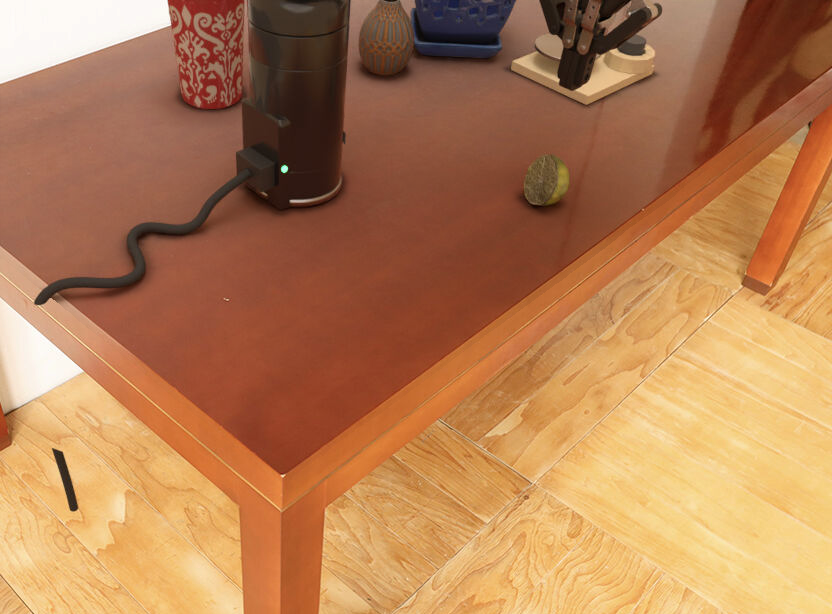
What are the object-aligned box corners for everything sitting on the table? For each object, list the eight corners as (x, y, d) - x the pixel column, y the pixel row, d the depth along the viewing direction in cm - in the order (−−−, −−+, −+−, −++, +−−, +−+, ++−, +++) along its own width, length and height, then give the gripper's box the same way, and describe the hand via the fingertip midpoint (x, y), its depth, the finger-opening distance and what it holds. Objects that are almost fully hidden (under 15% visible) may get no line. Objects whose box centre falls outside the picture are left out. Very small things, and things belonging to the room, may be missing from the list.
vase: (411, 59, 111) (419, -11, 105) (410, 83, 106) (418, 11, 100) (358, 55, 111) (363, -15, 105) (355, 79, 106) (359, 7, 100)
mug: (228, 120, 98) (223, 0, 88) (160, 103, 100) (147, -16, 91) (275, 76, 106) (274, -39, 97) (210, 61, 108) (203, -52, 99)
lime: (553, 218, 86) (564, 174, 82) (510, 201, 88) (519, 158, 84) (571, 199, 88) (584, 156, 85) (530, 183, 90) (540, 140, 87)
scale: (589, 106, 103) (595, 83, 101) (510, 69, 110) (514, 46, 107) (657, 74, 110) (664, 51, 108) (579, 41, 116) (584, 19, 114)
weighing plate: (574, 69, 103) (575, 66, 103) (520, 46, 108) (521, 43, 107) (615, 52, 107) (616, 48, 107) (562, 29, 112) (562, 26, 111)
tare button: (633, 59, 107) (637, 46, 105) (613, 51, 108) (617, 37, 107) (647, 53, 108) (651, 39, 107) (627, 45, 110) (631, 31, 108)
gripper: (531, -126, 72) (493, 72, 84) (668, -84, 65) (605, 124, 77) (583, -139, 76) (540, 53, 88) (718, -101, 69) (650, 101, 81)
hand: (570, 86), depth 83 cm, fingers closed
